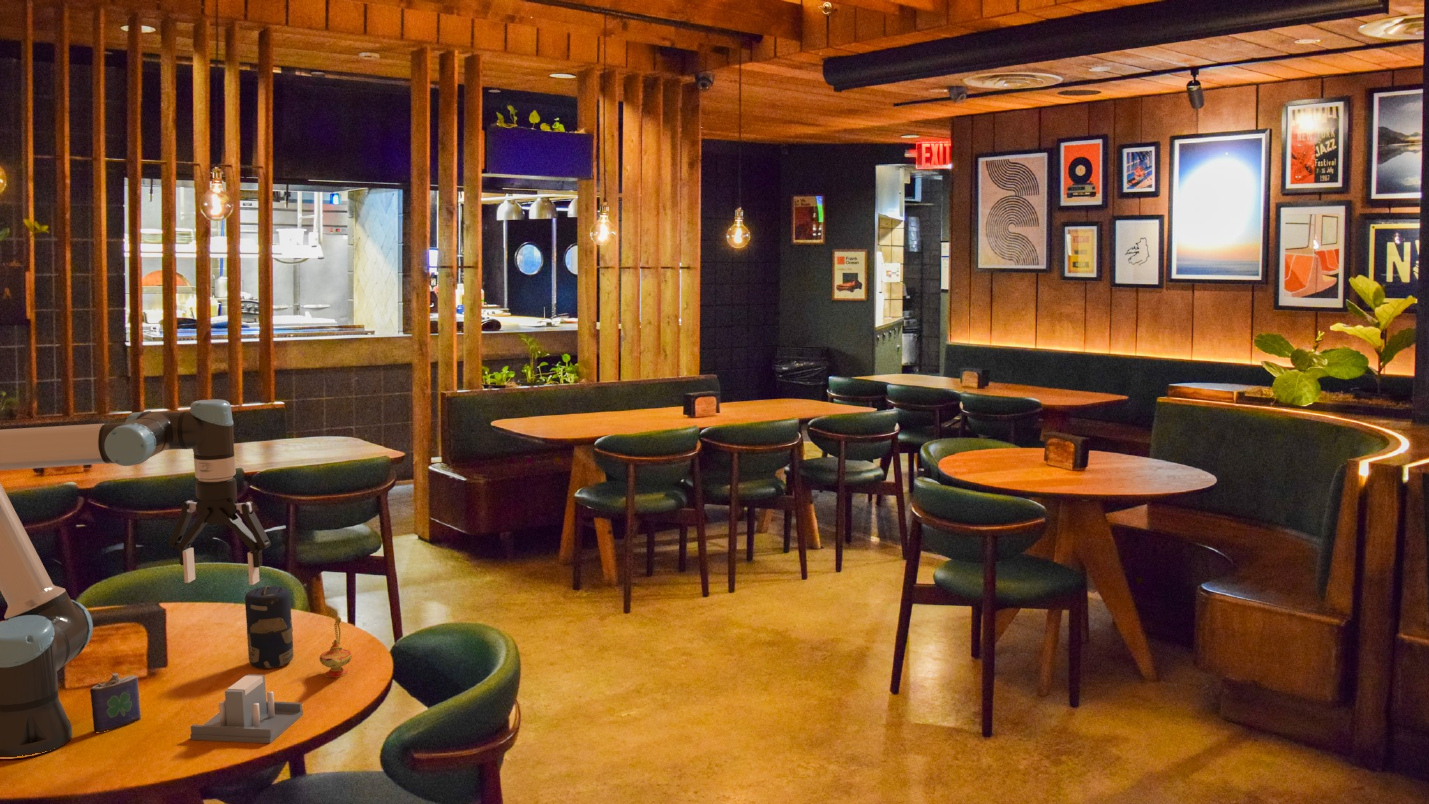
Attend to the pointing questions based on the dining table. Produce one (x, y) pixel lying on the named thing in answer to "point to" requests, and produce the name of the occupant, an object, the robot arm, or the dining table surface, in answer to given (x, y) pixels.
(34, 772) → the dining table surface
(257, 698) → the block
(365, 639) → the dining table surface
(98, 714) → the flask
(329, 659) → the magic lamp
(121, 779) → the dining table surface
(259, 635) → the canister
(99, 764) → the dining table surface
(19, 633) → the robot arm
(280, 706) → the grey pegged base
